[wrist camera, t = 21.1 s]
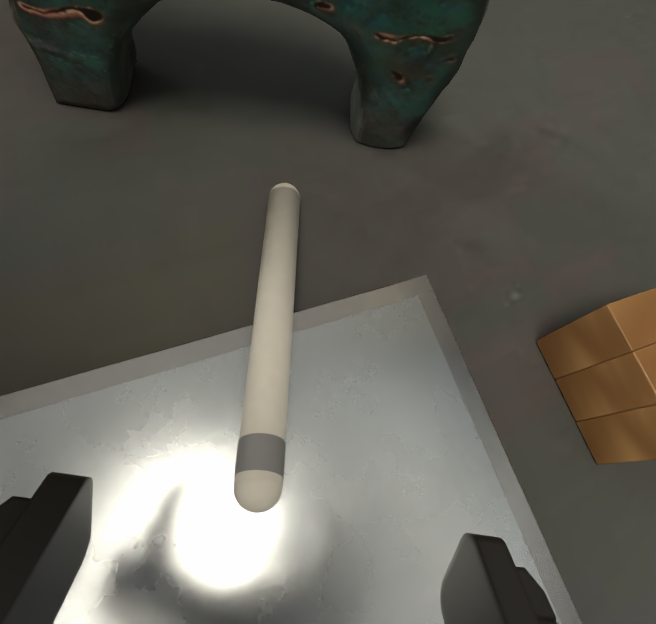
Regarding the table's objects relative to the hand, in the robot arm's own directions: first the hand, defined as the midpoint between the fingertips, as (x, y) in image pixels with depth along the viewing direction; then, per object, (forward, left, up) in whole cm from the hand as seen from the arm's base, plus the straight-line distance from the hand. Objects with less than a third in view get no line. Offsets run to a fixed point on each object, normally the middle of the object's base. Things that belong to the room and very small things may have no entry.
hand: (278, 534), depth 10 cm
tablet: (+1, -1, -10) cm, 10 cm away
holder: (0, +18, -10) cm, 20 cm away
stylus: (0, 0, -5) cm, 5 cm away
